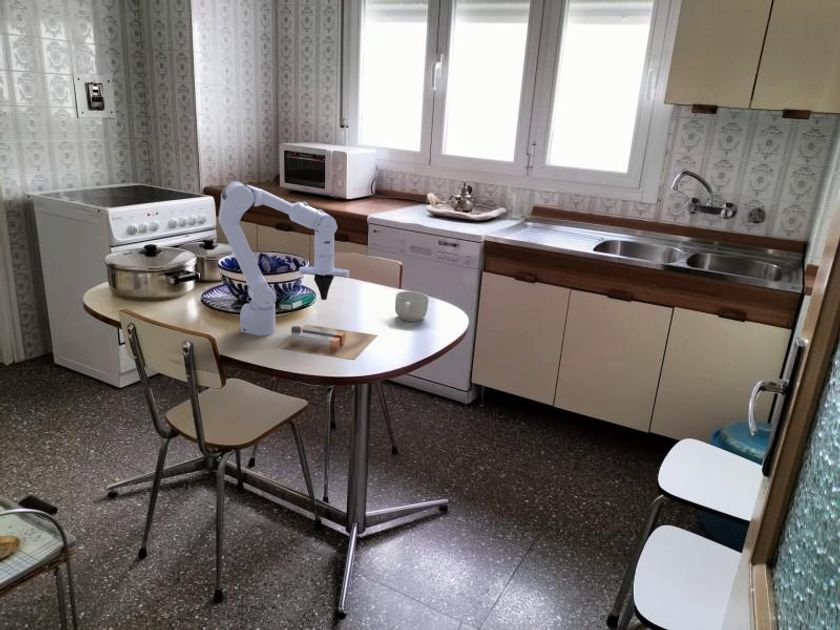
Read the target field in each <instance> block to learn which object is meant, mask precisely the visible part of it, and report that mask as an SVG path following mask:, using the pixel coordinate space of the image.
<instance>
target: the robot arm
mask: <svg viewBox="0 0 840 630" xmlns="http://www.w3.org/2000/svg"><path fill="white" fill-rule="evenodd" d="M219 205H220V206H219V211H218V222H219V225H220V226H221V229H222V232H223V233H224V235H225V239H227V241H228V242H227V243H228V244H229V247H230V249H231V251H232V252H233V255H234V257H235V259H236V261H237V263H238V265H239V267H240V269H241V271H242V272H241V273H242V274H243V277H244V278H245V282H246V285H247V293H248V296H249V297H250V299H251V300H250V302H249V303H245V304H244V305H242V306H241V308H240V309H241V310H240V313H239V317H240V318H239V319H240V333H245V334H251V335H254V336H261V337H263V336H265V337H266V336H271V335H274V334H275V333H276V302H277V293H276V292H275V291H274V289H272V288H271V286H270V285H269V284H268V282H267V280H266V279H265V277H264V275H263V273H262V271H261V268H260V267H259V265H258V262H257V260H256V258H255V256H254V253H253V252H252V249H251V247H250V245H249V242H248V240H247V237H246V236H245V233H244V230H243V229H242V227H241V225H240V221H241V220H242V217H243V215H244V213H246V211H248V210H249V209H250V208H251V207H252V206H254V207H259V206H262V205H264V206H267V207H270V208H272V209H274V210H276V211H279V212H282V213H284V214H286V215H288V217H289V219H290V221H291V222H294V223H296V224H299V225H301V226H303V227H306V228H308V229H311V230H314V241H313V243H314V244H313V245H314V248H313V249H314V251H313V252H314V253H313V254H314V261H313V262H314V266H300V267H299V268H298V270H299V271H298V273H299V274H298V275H303V276H304V275H309V276H310V275H311V276H314V278H313V281H314V283H315V285H316V287H317V288H318V291H319V294H320V300H321V301H327V299H328V294H329V290H330V288H331V285H332V282H333V281H334V278H335V277H338V278H345V279H348V278H349V277H350V270H349V269H343V268H338V267H337V268H336V267H335V233H336V232H337V230H338V224H337V221H336V219H335V218H334V217H333V216H331V215H330V214H328V213H326V212H325V211H323V210H322V209H321V208H318V209H317V208H314V207H312V206H310V205H309V203H308V202H306V201H302V202H300V201H297V202H295V203H291V202H290V201H287V200H285V199H283V198H281V197H279V196H277V195H274V194H272V193H271V192H269V191H266V190H264V189H262V188H259V187H256V186H253V185H251V184H250V185H249V184H244V183H243V182H241V181H236V180H235V181H231V182H229V183H227V185H226V186H225V187H224V188H223V191H222V192H221V194H220V204H219Z"/></svg>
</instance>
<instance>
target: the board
mask: <svg viewBox="0 0 840 630" xmlns="http://www.w3.org/2000/svg"><path fill="white" fill-rule="evenodd" d="M305 327H311V328H318V329H324V330H330V331H337V332H343V333H345V343H344V344H343V345H342V346H340V349H339V350H338V351H331V350H324V349H318V348H312V347H305V346H299V345H292V344H291V335H290V336H288V337H287V338H286V339H285V340H283V341H282V342H280V343H279V344H278V345H277V346H275V349H280V350H281V349H282V350H288V351H293V352H299V353H306V354H311V355H312V354H313V355H318V356H319V355H320V356H325V357H331V358H338V359H344V360H345V359H346V360H351V361H355V360H356V359H357V358H358V357H359V356H360V355H361V353H362V352H364V351H365V350H366V349H367V347H369V345H370V344H371V343H372V342H373V341H374V340H375V339H376V338H377V337H378V336H379V335H378V334H375V333H366V332H358V331H353V330H348V329H338V328H332V327H326V326H319V325H312V324H305V325H304V326H302V327H301V332H302V333H303V329H304V328H305Z"/></svg>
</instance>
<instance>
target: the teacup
mask: <svg viewBox="0 0 840 630" xmlns="http://www.w3.org/2000/svg"><path fill="white" fill-rule="evenodd" d="M429 301H430V297H429V296H428V294H425V293H423V292H420V291H419V292H418V291H412V290H407V291H406V290H405V291H398V292H396V293H395V302H394V304H395V305H394V311H395V313H396V315H397V316H398V317H399V318H400V320H403V321H407V322H419V321H420V320H423V318H425V317H426V316H427V312H428V307H429Z"/></svg>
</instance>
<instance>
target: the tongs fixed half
mask: <svg viewBox="0 0 840 630" xmlns="http://www.w3.org/2000/svg"><path fill="white" fill-rule="evenodd" d="M290 328H291V329H290V330H291V331H290V332H291V334H290V336H291V344H292V345H299V346H305V347H312V348H318V349H324V350H331V351H338V350H339V349H340V338H335V337H329V336H322V335H315V334H309V333H302V332H301V328H302V327H301V326H299V325H298V326H296V325H295V326H291V327H290Z"/></svg>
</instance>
